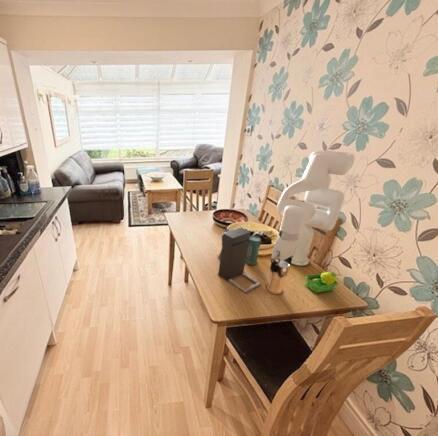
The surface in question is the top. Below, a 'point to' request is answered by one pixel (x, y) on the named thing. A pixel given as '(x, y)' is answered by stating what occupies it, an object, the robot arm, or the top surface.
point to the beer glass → (278, 277)
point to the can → (253, 250)
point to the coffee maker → (235, 256)
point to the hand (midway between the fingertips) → (280, 267)
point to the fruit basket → (321, 282)
